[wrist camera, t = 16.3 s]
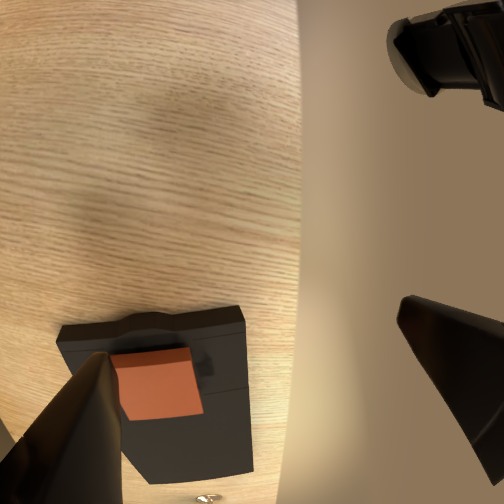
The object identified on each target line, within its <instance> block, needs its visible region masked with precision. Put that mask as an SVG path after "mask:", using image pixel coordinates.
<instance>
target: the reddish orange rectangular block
mask: <svg viewBox="0 0 504 504" xmlns="http://www.w3.org/2000/svg"><path fill="white" fill-rule="evenodd" d="M110 358H111V360H112V362H113V365H114V367H115V369H116V372H117V374H118V379H119V397H120V404H121V406H122V407H123V409H124V411H125V413H126V415H127V416H128V418H129V420H147V419H159V418H170V417H179V416H188V415H195V414H203V413H204V412H203V406H202V401H201V397H200V393H199V388H198V384H197V380H196V375H195V371H194V367H193V362H192V357H191V353H190V348H189V347H186V348H178V349H170V350H161V351H152V352H143V353H132V354H121V355H110Z"/></svg>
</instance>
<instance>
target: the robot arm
mask: <svg viewBox="0 0 504 504" xmlns="http://www.w3.org/2000/svg"><path fill="white" fill-rule="evenodd" d="M403 29H404V30H403V31H402V32H401V33H400V34H399V35H398V36H397V37H396V38H395V39H394V40H393V43H394V46H395V47H396V48H397V50H398V51H399V53H400V54H401V55H402V57H403V58H404V60H405V61H406V63H407V64H408V66H409V67H410V69H411V70H412V72H413V73H414V75H415V76H416V78H417V79H418V81H419V83H420V84H421V86H422V88H423V89H424V91H425V93H426V94H427V96H428V97H430V98H433V97H435V96H436V95H437V93H438V92H439V91H440V90H441V89H475V90H481V92H482V95H483V102H484V105H486V106H489V107H492V108H495V109H497V110H500V111H503V112H504V0H468V1H463V2H460V3H457V4H455V5H451V6H449V7H446V8H443V10H440V11H435V12H431V13H427V14H423V15H420V16H416V17H414V18H412V19H411V20H410V21H409V22H408V23H407V24H405V25H404V26H403ZM398 42H399V43H398ZM399 44H400V45H399ZM397 324H398V326H399V328H400V329H401V331H402V333H403V335H404V337H405V338H406V340H407V342H408V344H409V345H410V347H411V349H412V351H413V353H414V354H415V356H416V358H417V359H418V361H419V362H420V364H421V365H422V367H423V368H424V370H425V371H426V373H427V374H428V376H429V377H430V379H431V381H432V382H433V384H434V385H435V387H436V388H437V390H438V391H439V393H440V394H441V396H442V397H443V399H444V401H445V402H446V404H447V405H448V407H449V409H450V410H451V412H452V413H453V415H454V417H455V418H456V420H457V422H458V423H459V425H460V426H461V428H462V430H463V432H464V433H465V435H466V437H467V439H468V440H469V442H470V444H471V446H472V448H473V449H474V451H475V453H476V455H477V457H478V459H479V460H480V462H481V464H482V466H483V468H484V470H485V472H486V474H487V476H488V478H489V480H490V481H491V483H492V485H493V486H495V485H496V484H497V483H499V482H500V481H501V480H502V479H504V323H503V322H500V321H497V320H494V319H490V318H487V317H484V316H481V315H477V314H474V313H471V312H467V311H464V310H461V309H458V308H455V307H451V306H448V305H445V304H442V303H438V302H435V301H431V300H429V299H425V298H422V297H419V296H415V295H410V296H406V297H404V298H403V299H402V300H401V303H400V307H399V311H398V314H397ZM121 440H122V426H121V413H120V397H119V379H118V374H117V372H116V369H115V367H114V365H113V362H112V360H111V358H110V355H109V354H108V353H107V352H96V353H93V354H92V355H91V356H90V357H89V358H88V359H87V360H86V361H85V363H84V364H83V365H82V366H81V367H80V368H79V369H78V370H77V372H76V373H75V374H74V375H73V376H72V377H71V378H70V379H69V381H68V382H67V383H66V384H65V385H64V386H63V388H62V389H61V390H60V391H59V392H58V393H57V395H56V396H55V397H54V398H53V399H52V400H51V402H50V403H49V404H48V405H47V406H46V408H45V409H44V410H43V411H42V412H41V414H40V415H39V416H38V417H37V418H36V420H35V421H34V422H33V423H32V424H31V426H30V427H29V428H28V429H27V431H26V432H25V433H24V435H23V437H21V438H20V439H19V441H18V442H17V443H16V444H15V446H14V447H13V448H12V449H11V451H10V452H9V453H8V454H7V455H6V457H5V458H4V459H3V460H2V461H1V462H0V504H123V500H122V474H121Z"/></svg>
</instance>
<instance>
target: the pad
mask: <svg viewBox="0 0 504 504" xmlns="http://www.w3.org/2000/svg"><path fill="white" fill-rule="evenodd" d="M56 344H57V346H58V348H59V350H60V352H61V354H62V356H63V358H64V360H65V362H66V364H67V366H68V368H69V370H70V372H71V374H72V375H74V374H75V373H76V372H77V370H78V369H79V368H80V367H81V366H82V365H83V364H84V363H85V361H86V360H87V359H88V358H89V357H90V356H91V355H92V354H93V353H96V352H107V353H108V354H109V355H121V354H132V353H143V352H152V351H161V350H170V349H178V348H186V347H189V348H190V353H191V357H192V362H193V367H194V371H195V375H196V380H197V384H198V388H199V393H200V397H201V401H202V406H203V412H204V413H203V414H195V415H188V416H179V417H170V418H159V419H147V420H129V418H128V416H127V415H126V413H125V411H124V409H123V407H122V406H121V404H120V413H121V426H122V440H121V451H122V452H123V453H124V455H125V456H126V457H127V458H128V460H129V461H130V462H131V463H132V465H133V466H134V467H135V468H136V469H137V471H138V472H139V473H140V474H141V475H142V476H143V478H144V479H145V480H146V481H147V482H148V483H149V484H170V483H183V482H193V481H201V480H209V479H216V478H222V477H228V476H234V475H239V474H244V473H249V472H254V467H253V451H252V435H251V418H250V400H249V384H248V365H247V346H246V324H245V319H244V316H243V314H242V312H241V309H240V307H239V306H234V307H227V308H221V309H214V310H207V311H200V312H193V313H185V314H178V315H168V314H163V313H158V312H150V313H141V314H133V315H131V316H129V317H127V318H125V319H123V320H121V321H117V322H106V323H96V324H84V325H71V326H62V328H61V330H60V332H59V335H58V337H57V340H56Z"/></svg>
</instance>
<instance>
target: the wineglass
mask: <svg viewBox="0 0 504 504" xmlns="http://www.w3.org/2000/svg"><path fill="white" fill-rule="evenodd" d="M221 498H222V497H221V496H220V495H204V496H200V497H198V498H197V499H196V500H197V501H198V502H204V503H208V504H212V503H213V502H215V501H218V500H220V499H221Z"/></svg>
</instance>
